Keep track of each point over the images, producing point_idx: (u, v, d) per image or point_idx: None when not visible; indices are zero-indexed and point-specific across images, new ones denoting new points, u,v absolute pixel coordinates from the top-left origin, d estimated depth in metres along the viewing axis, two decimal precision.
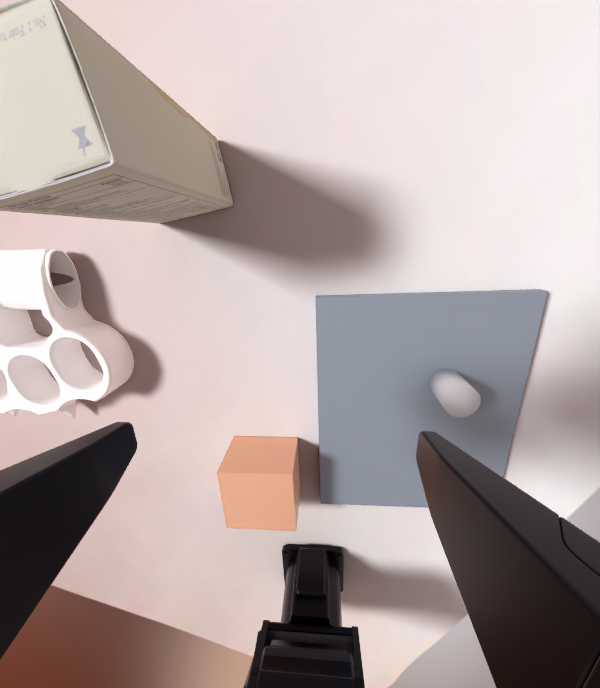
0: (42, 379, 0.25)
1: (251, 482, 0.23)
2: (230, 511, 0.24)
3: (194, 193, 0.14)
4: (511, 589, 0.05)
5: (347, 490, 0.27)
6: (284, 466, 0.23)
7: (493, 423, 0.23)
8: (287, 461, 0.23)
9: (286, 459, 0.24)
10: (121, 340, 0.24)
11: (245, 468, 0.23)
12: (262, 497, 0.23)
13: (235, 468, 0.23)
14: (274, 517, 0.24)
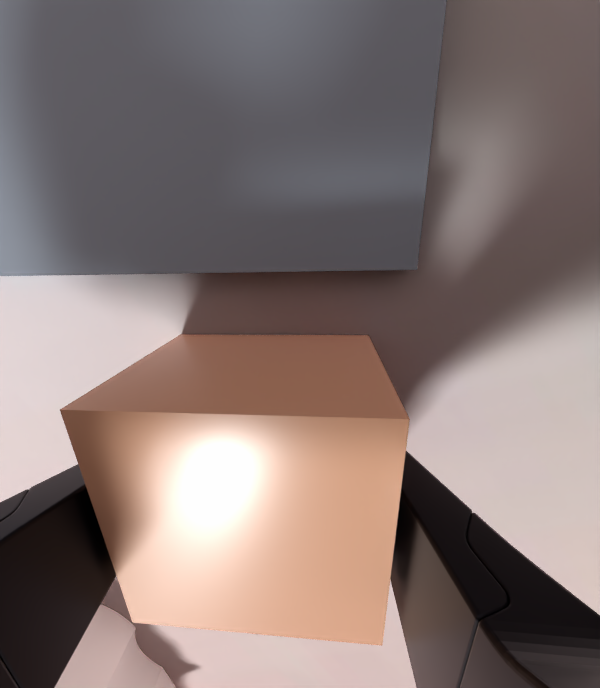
0: None
1: (146, 547, 0.06)
2: (298, 622, 0.06)
3: None
4: (421, 583, 0.05)
5: (353, 157, 0.07)
6: None
7: None
8: None
9: None
10: None
11: None
12: (214, 526, 0.06)
13: None
14: (318, 498, 0.05)
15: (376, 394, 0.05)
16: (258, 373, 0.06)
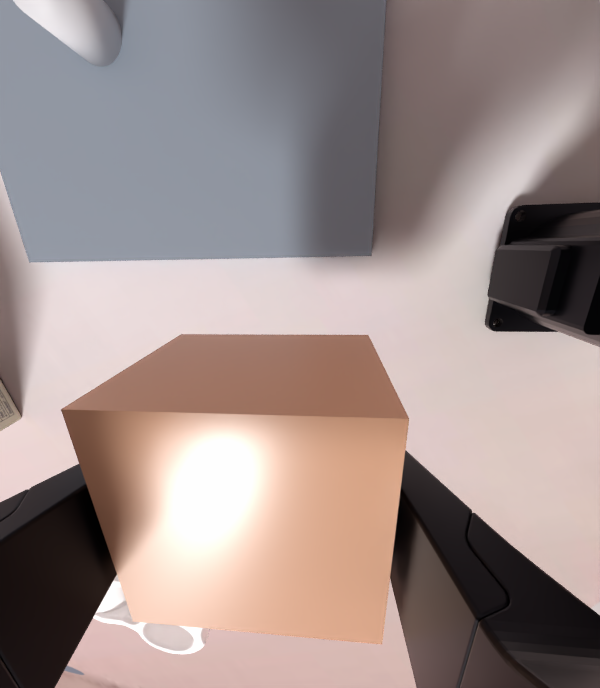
0: None
1: (147, 546, 0.06)
2: (298, 621, 0.06)
3: None
4: (421, 583, 0.05)
5: (340, 204, 0.15)
6: None
7: None
8: None
9: None
10: None
11: None
12: (214, 525, 0.06)
13: None
14: (318, 497, 0.05)
15: (376, 394, 0.05)
16: (258, 373, 0.06)
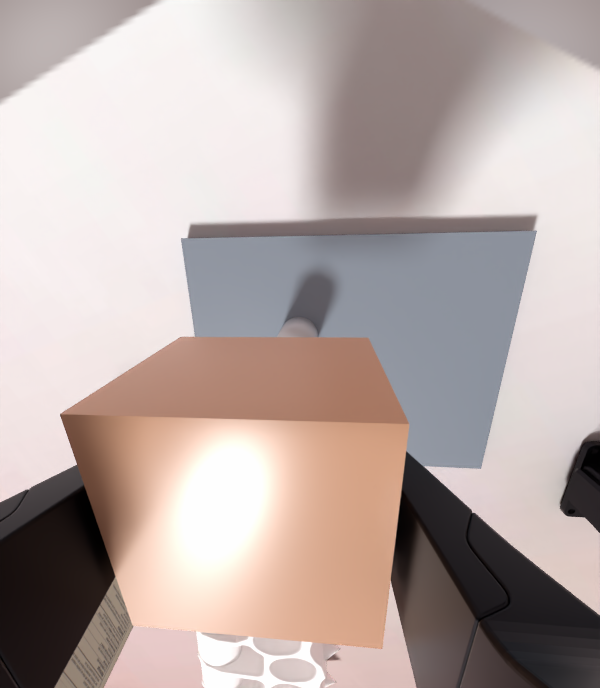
0: None
1: (146, 551, 0.06)
2: (298, 625, 0.06)
3: None
4: (421, 583, 0.05)
5: (462, 438, 0.20)
6: None
7: (361, 265, 0.17)
8: None
9: None
10: None
11: None
12: (214, 530, 0.06)
13: None
14: (318, 502, 0.05)
15: (376, 398, 0.05)
16: (258, 377, 0.06)
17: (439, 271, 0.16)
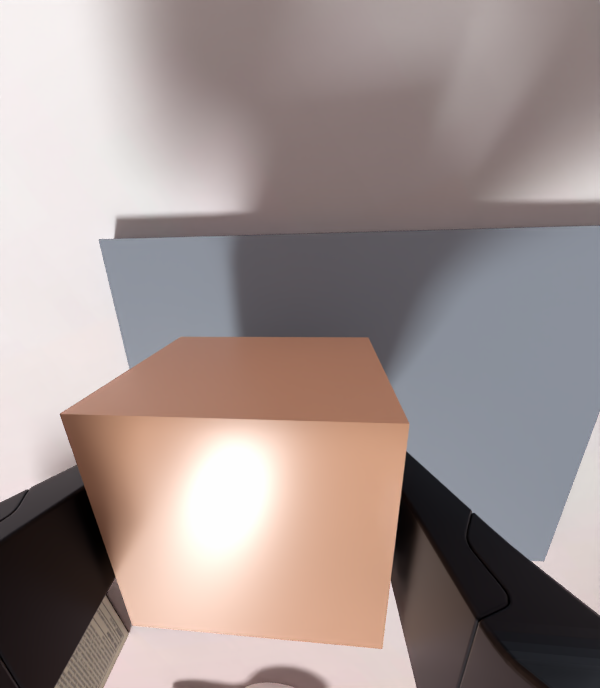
0: None
1: (146, 551, 0.06)
2: (298, 625, 0.06)
3: None
4: (421, 583, 0.05)
5: (520, 522, 0.14)
6: None
7: (378, 280, 0.11)
8: None
9: None
10: None
11: None
12: (214, 529, 0.06)
13: None
14: (318, 502, 0.05)
15: (376, 398, 0.05)
16: (258, 376, 0.06)
17: (502, 289, 0.10)
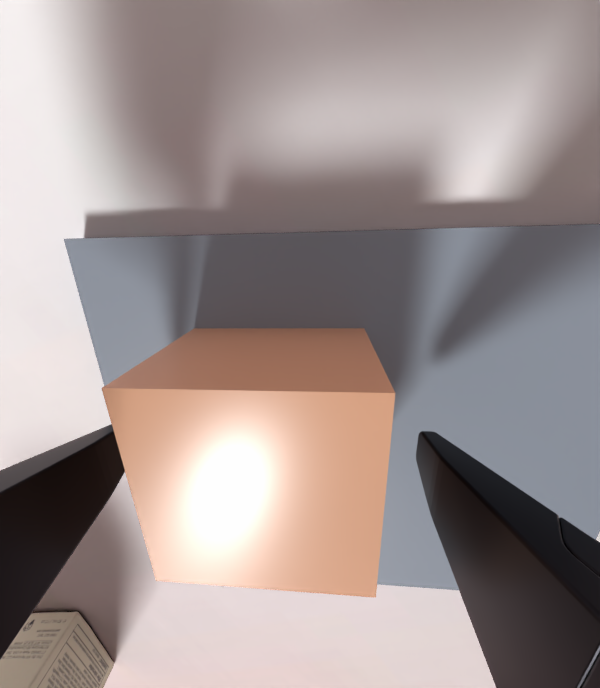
0: None
1: (170, 510, 0.07)
2: (302, 577, 0.07)
3: None
4: (511, 589, 0.05)
5: None
6: None
7: (388, 287, 0.09)
8: None
9: None
10: None
11: None
12: (230, 489, 0.07)
13: None
14: (320, 463, 0.06)
15: (369, 375, 0.06)
16: (267, 359, 0.07)
17: (534, 297, 0.09)
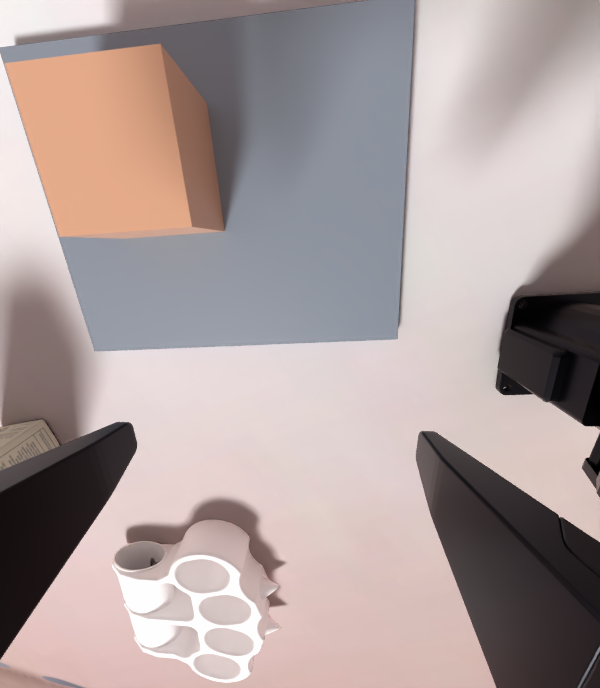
0: None
1: (57, 164, 0.12)
2: (145, 215, 0.12)
3: None
4: (511, 589, 0.05)
5: (370, 300, 0.17)
6: None
7: (216, 67, 0.14)
8: None
9: None
10: (196, 526, 0.25)
11: None
12: (89, 139, 0.11)
13: None
14: (133, 107, 0.11)
15: None
16: None
17: (309, 66, 0.14)
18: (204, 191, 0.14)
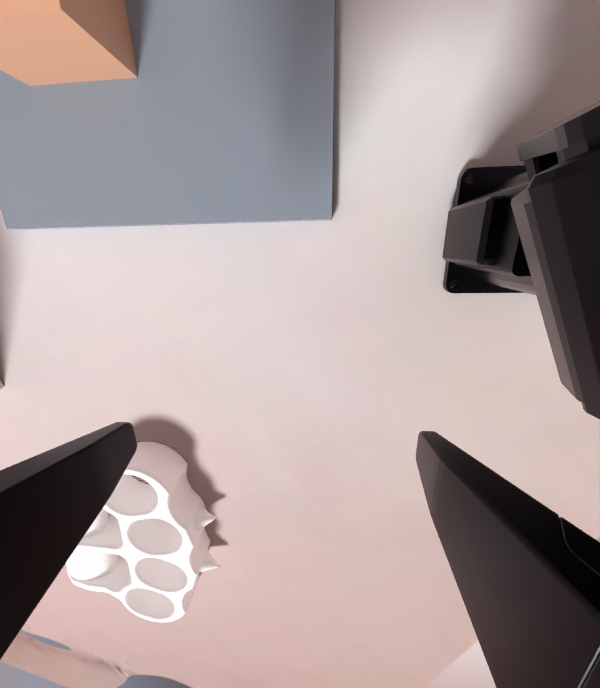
0: (179, 529, 0.25)
1: None
2: None
3: None
4: (511, 589, 0.05)
5: (300, 168, 0.15)
6: None
7: None
8: None
9: None
10: None
11: None
12: None
13: None
14: None
15: None
16: None
17: None
18: None
